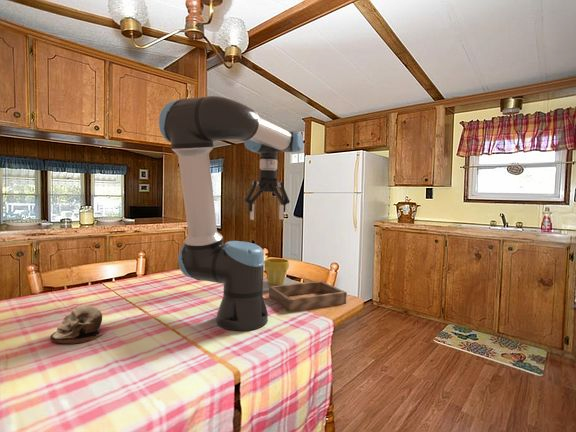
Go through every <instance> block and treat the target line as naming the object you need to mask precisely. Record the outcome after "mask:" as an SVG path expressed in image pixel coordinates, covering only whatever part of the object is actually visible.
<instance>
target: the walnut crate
mask: <svg viewBox="0 0 576 432" xmlns="http://www.w3.org/2000/svg"><path fill="white" fill-rule="evenodd" d="M297 283H298V282H297ZM313 293H322V294H315V295H309V296H300V297H293V298H291V297H289V296H298V295H305V294H313ZM347 294H348V292H347V291H345V290H342V289H340V288H338V287H335V286H333V285H331V284H329V283H327V282H324V281H323V280H319V281H309V282H301V283H298V284H289V285H280V286H271V287H269V293H268V298H269V299H271V300H272V301H273V302H274V303H276V304H277V303H278V304H277V305H279V306H280V305H281V306H282V307H281V306H280V307H281V308H283V309H284V308H285V309H286V310H285V309H284V310H285V311H287V312H288V313H292V312H293V311H294V312H300V311H305V310H311V309H318V308H325V307H330V306H337V305H343V304H347V298H348V297H347Z"/></svg>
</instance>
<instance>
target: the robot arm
mask: <svg viewBox="0 0 576 432" xmlns="http://www.w3.org/2000/svg"><path fill="white" fill-rule="evenodd" d="M158 127H159V131H160V133H161V136H163V138H164V140H165V141H166V142H169V143H170V146H171V151H173V152H174V153H175V154H176V156H178V157H177V158H178V164H179V173H180V180H181V187H182V194H183V203H184V210H185V218H186V225H187V233H188V234H187V236H186V237H185V239H183V244H182V246H181V247H180V249H179V253H178V256H177V257H178V258H177V261H178V267H179V270H180V271H181V273H182V274H183V275H184V276H186V277H187V278H190V279H194V280H196V281H205V282H210V283H216V284H217V283H218V284H223V296H222V299H221V301H220V304H219V308H218V309H217V313H216V324H217V325H218V326H220V327H221V328H223V329H226V330H230V331H239V332H240V331H241V332H242V331H243V332H244V331H252V330H256V329H259V328H261V327H264V326H265V325H266V324H267V323H268V319H269V318H268V317H269V313H268V309H267V305H266V302H265V299H264V295H263V294H264V293H263V279H264V269H265V268H264V262H265V256H264V250H263V248H262V247H261V246H260V245H257V244H256V243H252V242H248V241H239V240H230V241H226V242H225V243H224V237H223V235H222V234H221V233H220V232H218V229H217V226H218V225H217V218H216V210H215V199H214V198H215V197H214V190H213V181H212V180H213V179H212V169H211V161H210V153H211V151H212V150H213V149H214V142H216V141H217V142H218V141H230V140H231V141H232V140H236V141H237V140H238V141H242V142H243V143H244V147H245V148H246V149H247V150H248V151H251V153H256V154H259V169H260V170H259V176H258V177H259V180H258V181H257V180H252V182H251V186H250V188H249V190H248V191H247V193H246V196H245V198H244V199H243V201H244V202H245V203H247V204H248V209H247V210H248V212H249V213H250V214H249V219H250V220H252V221H254V219H255V204H254V202H255V201H256V200H257V199H258V197H259V196H260V195H261V193H266V192H267V193H272V194H274V195H275V197H276V198H277V200H278V201H279V203H280V204H279V210H278V211H279V212H278V218H279V219H278V220H281V221H282V220H284V213H286V205H287V204H290V198H289V196H288V194H287V192H286V189H285V185H284V182H283V181H279V182H278V181H277V180H278V157H279V156H278V153H295V152H296V153H297V152H301V151H302V150H303V147H304V137H303V134H302V133H301V132H300V131H298V130H297V131H294V130H293V131H288V130H286V129H285V128H282V127H280V126H279V125H277V124H274V123H272V121H271V122H270V121H268V120H266V119H265V118H263V117H261V116H260V115H258V112H257V111H255V109H253V108H251V107H250V106H248V105H246V104H244V103H240V101H239V102H238V101H236V100H233V99H230V98H226V97H223V96H218V95H208V96H203V97H192V98H191V97H189V98H188V97H187V98H179V99H177V100H173V101H169V102H167V103H166V104H165V105H164V107H163V108H162V109H161V111H160V113H159V117H158ZM258 186H259V188H258V189H257V190H256V187H258ZM277 187H278V189H279V191H280V193H281V194H280V193H279V191H278V189H277ZM255 190H256V192H254V191H255ZM252 195H253V196H252Z"/></svg>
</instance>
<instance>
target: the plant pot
mask: <svg viewBox="0 0 576 432" xmlns="http://www.w3.org/2000/svg"><path fill="white" fill-rule="evenodd" d="M289 266H290V261H289V259H286V258H278V257H270V258H266V259H265V258H264V269H265V271H266V279H267V280H268V283H269V284H271V285H281V284H283V283H284V279H285V277H286V275H287V271H288V270H289V268H290V267H289Z"/></svg>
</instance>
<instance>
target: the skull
mask: <svg viewBox="0 0 576 432" xmlns="http://www.w3.org/2000/svg"><path fill="white" fill-rule="evenodd" d="M102 321H103V314H102V312H101V310H99V308H96V306H95V307H94V306H92V305H90V304H80V305H78V306H76V307H74V308H71V313H69V314H67V315H65V317H64V318H63V320H62V322H60V324H59V325H57V326H56V327H57V329H56V331H55V332H53V333H52V334H51V335H50V337H49V338H50V341H51V342H54V343H59V344H80V343H84V342H85V343H86V342H89V341H93V340H96V339H98V338H100V337H103V336H104V334H106V333H105V332H104V333H101V332H99V329H100V327H101V325H102Z"/></svg>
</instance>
